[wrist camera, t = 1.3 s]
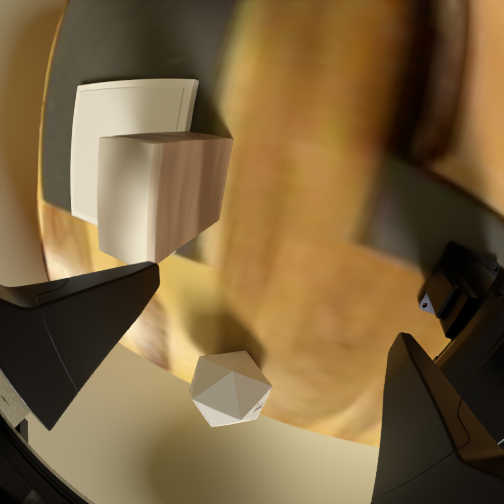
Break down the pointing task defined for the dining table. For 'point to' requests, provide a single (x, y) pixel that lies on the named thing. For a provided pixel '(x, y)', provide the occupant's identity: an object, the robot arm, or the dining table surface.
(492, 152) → the dining table surface
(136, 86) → the shallow cream tray
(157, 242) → the walnut block
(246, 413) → the die
